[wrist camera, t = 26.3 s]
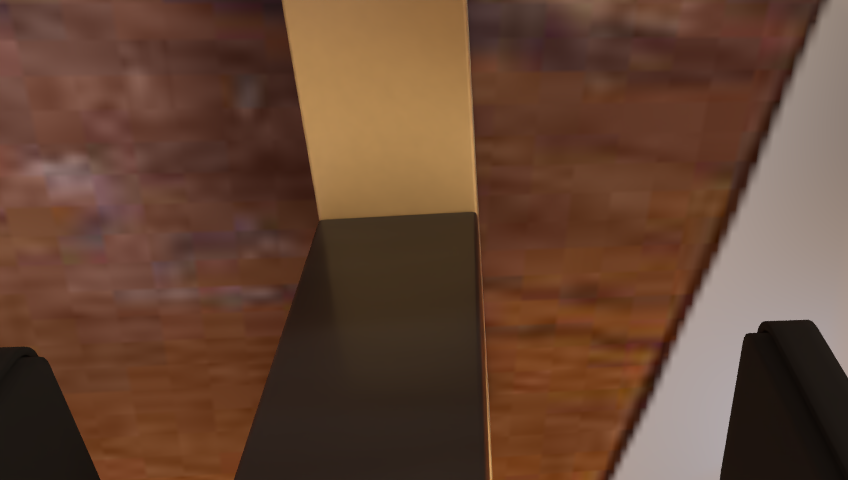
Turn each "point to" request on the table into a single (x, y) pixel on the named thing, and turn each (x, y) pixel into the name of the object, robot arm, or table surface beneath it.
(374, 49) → the brush
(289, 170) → the table surface
